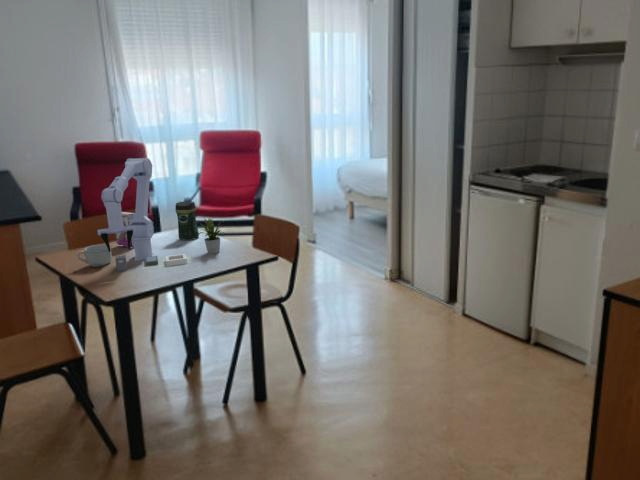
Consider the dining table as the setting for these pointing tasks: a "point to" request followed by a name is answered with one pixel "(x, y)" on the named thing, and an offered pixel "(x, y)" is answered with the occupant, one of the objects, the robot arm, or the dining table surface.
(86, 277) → the dining table surface
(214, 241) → the house plant
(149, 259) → the phone slab
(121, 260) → the plug
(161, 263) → the outlet plate
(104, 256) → the teacup
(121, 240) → the candy bar box
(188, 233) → the coffee jar
